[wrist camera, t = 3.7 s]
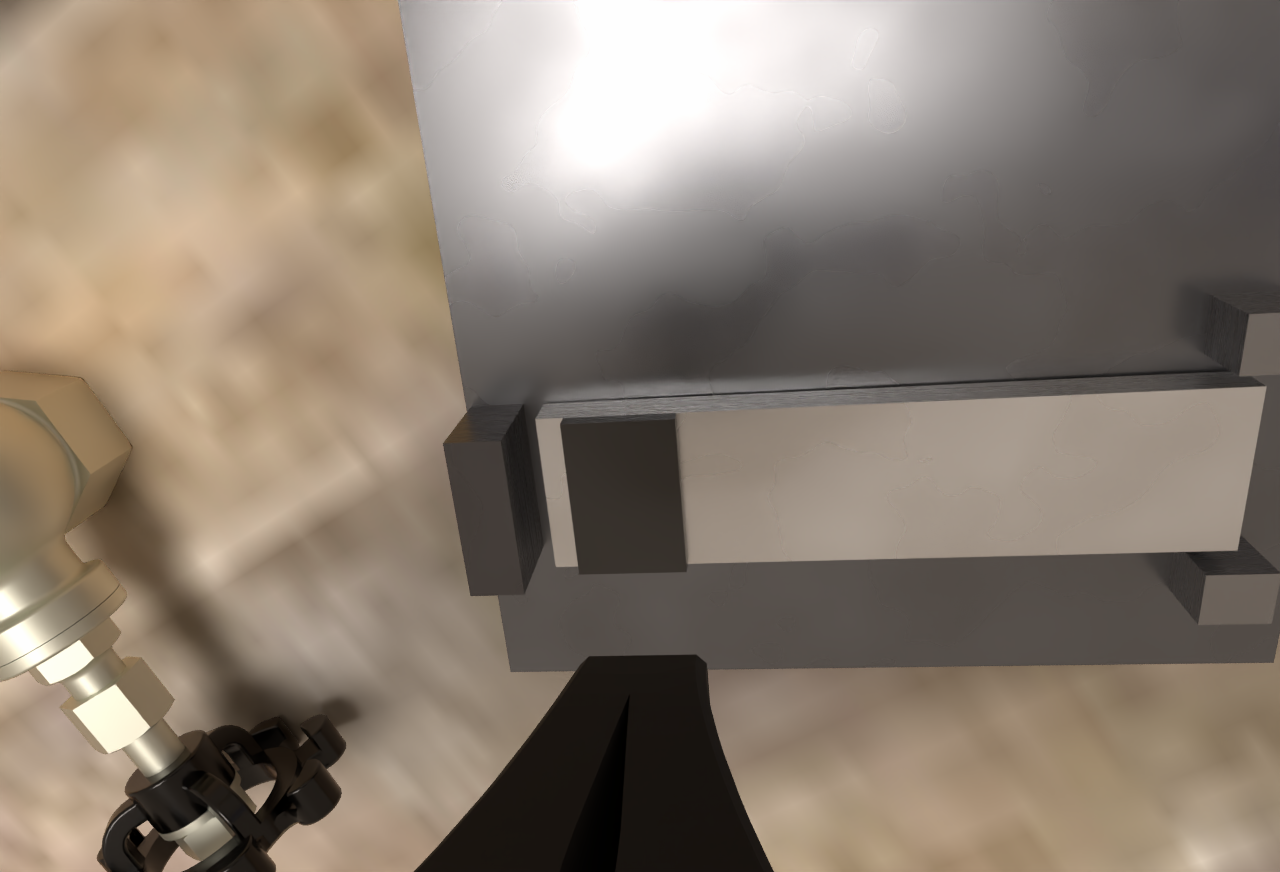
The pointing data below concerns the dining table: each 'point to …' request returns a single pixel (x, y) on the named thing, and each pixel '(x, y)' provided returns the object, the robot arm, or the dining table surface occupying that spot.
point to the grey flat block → (851, 285)
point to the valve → (128, 689)
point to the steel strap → (902, 472)
